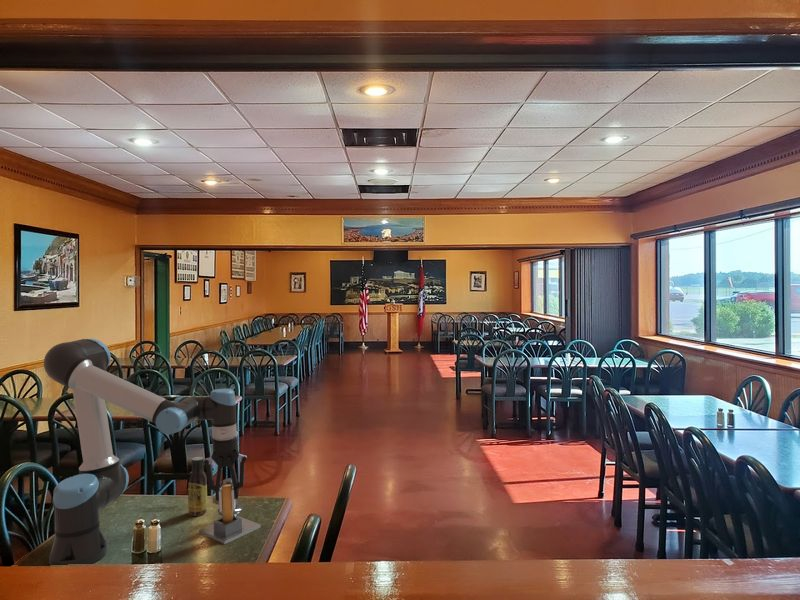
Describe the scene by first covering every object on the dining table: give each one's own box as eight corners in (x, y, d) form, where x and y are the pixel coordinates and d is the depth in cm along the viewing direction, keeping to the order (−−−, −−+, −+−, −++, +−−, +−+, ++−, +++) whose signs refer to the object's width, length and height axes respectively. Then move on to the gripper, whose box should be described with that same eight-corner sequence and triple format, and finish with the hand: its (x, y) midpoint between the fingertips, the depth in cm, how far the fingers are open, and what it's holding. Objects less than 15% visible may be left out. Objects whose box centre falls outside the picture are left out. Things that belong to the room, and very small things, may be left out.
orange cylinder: (220, 523, 177) (219, 486, 176) (229, 520, 179) (227, 483, 179) (227, 526, 175) (225, 488, 174) (235, 522, 177) (233, 485, 177)
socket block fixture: (190, 529, 182) (188, 484, 182) (226, 514, 193) (224, 472, 193) (224, 544, 171) (223, 496, 170) (260, 527, 182) (259, 482, 182)
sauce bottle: (184, 516, 193) (182, 460, 192) (196, 508, 199) (194, 454, 198) (200, 518, 191) (198, 461, 190) (211, 510, 197) (209, 456, 196)
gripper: (196, 442, 171) (199, 516, 172) (249, 438, 174) (252, 511, 175) (200, 436, 178) (203, 507, 179) (251, 432, 181) (254, 502, 182)
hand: (227, 509), depth 177 cm, fingers closed on orange cylinder, 3 cm apart
